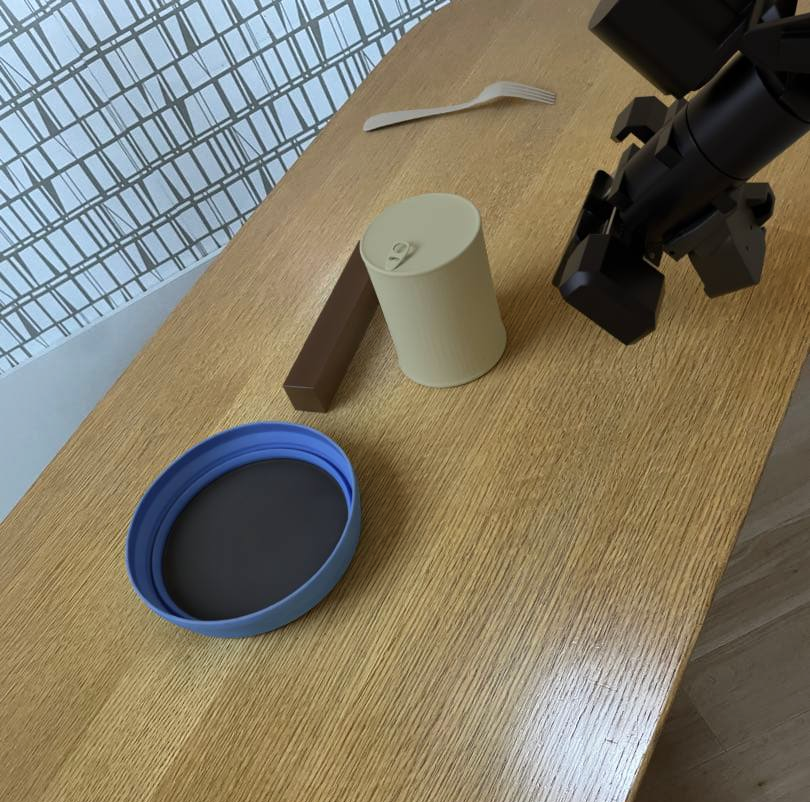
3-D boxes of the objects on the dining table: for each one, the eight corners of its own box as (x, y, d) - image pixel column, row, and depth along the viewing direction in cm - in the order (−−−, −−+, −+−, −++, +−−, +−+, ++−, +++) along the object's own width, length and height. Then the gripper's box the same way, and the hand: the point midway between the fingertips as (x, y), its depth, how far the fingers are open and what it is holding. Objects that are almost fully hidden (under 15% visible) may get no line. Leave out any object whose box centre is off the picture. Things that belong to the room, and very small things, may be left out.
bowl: (383, 438, 66) (370, 408, 64) (353, 644, 57) (336, 619, 54) (179, 457, 71) (158, 430, 68) (119, 651, 61) (92, 628, 58)
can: (378, 373, 71) (332, 257, 61) (433, 300, 74) (398, 179, 64) (472, 400, 66) (439, 279, 57) (526, 321, 70) (503, 194, 60)
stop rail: (397, 266, 78) (388, 239, 75) (326, 413, 70) (314, 388, 67) (368, 266, 79) (358, 239, 77) (294, 410, 71) (281, 385, 68)
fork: (374, 139, 95) (365, 116, 93) (555, 91, 87) (549, 66, 85) (369, 154, 94) (360, 131, 92) (553, 107, 86) (547, 81, 84)
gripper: (802, 328, 47) (613, 438, 60) (830, 127, 55) (660, 262, 68) (653, 209, 44) (489, 353, 57) (708, 15, 52) (554, 179, 65)
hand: (557, 284), depth 62 cm, fingers closed
